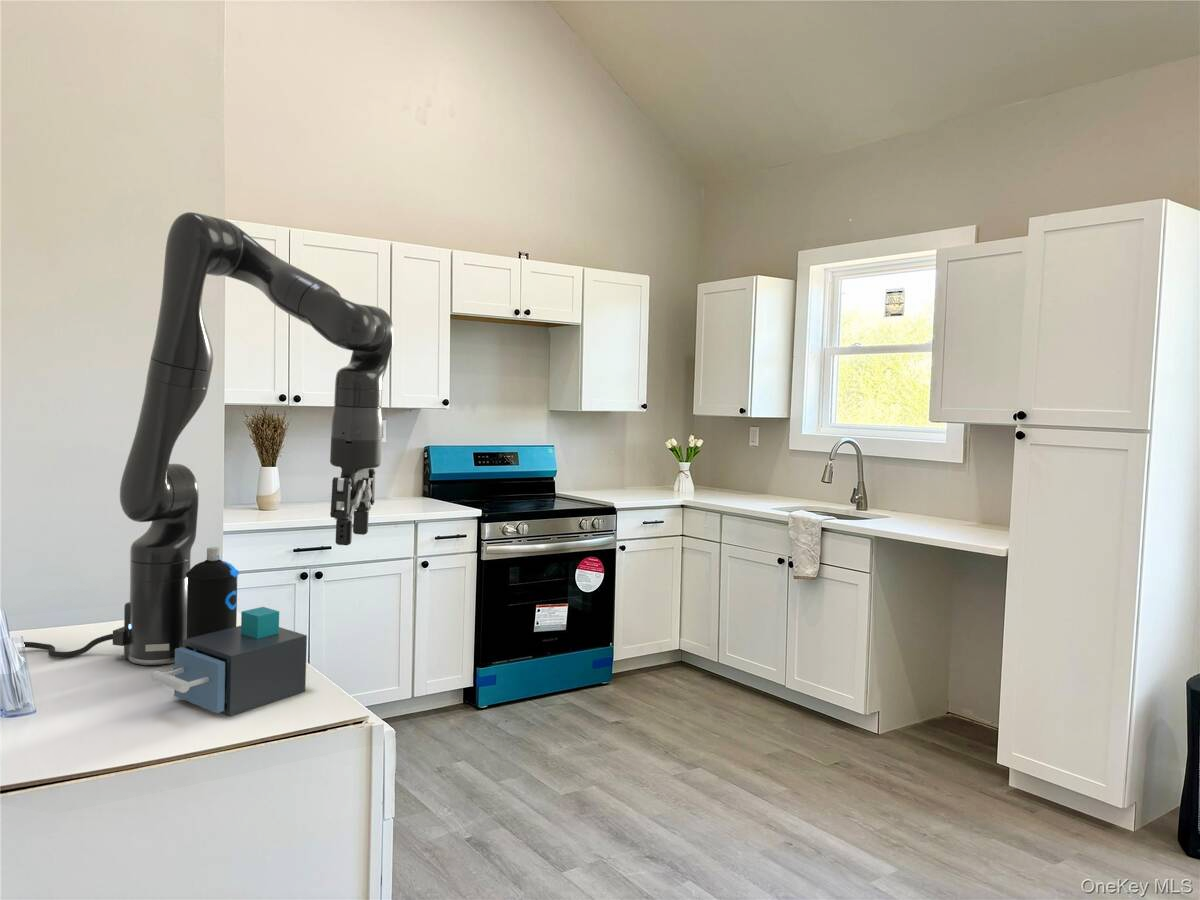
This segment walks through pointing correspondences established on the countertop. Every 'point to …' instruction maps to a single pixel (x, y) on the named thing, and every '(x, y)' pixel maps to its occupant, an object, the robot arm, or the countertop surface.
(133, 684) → the countertop surface
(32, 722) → the countertop surface
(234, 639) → the dark grey drawer cabinet
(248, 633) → the teal cube
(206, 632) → the aerosol can
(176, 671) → the blue drawer
